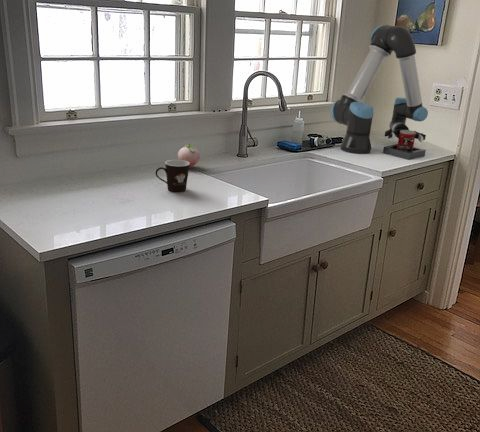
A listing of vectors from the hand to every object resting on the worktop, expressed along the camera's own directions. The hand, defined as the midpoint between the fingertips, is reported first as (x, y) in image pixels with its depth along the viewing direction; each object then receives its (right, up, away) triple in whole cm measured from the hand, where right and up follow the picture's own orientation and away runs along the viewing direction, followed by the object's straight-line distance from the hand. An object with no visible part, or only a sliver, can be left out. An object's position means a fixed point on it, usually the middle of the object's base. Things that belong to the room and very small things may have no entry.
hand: (407, 138), depth 259 cm
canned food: (0, -6, +6) cm, 9 cm away
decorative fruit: (-105, -19, -43) cm, 114 cm away
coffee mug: (-107, -29, -70) cm, 132 cm away
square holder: (0, -7, +6) cm, 9 cm away
